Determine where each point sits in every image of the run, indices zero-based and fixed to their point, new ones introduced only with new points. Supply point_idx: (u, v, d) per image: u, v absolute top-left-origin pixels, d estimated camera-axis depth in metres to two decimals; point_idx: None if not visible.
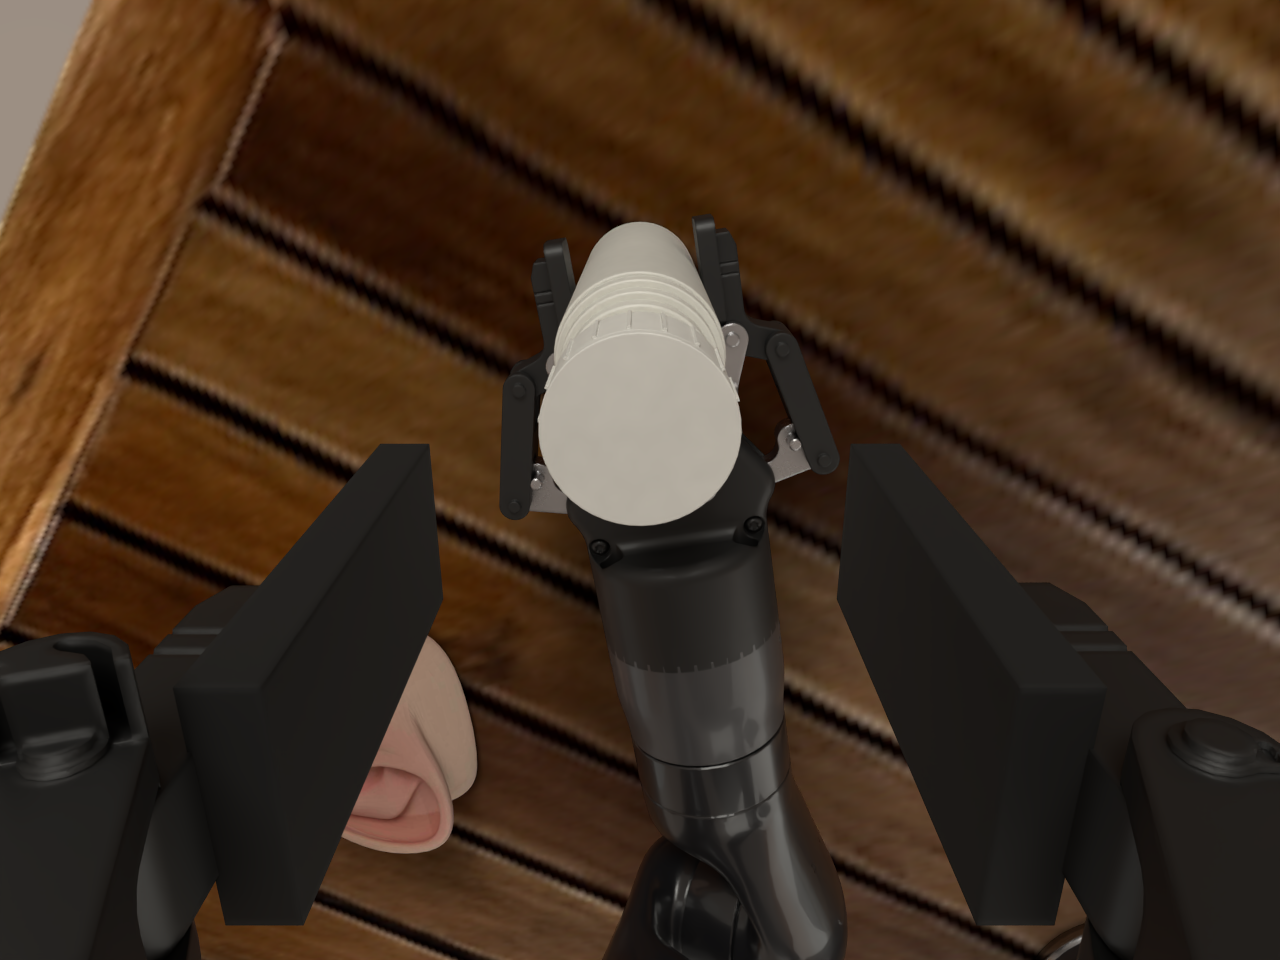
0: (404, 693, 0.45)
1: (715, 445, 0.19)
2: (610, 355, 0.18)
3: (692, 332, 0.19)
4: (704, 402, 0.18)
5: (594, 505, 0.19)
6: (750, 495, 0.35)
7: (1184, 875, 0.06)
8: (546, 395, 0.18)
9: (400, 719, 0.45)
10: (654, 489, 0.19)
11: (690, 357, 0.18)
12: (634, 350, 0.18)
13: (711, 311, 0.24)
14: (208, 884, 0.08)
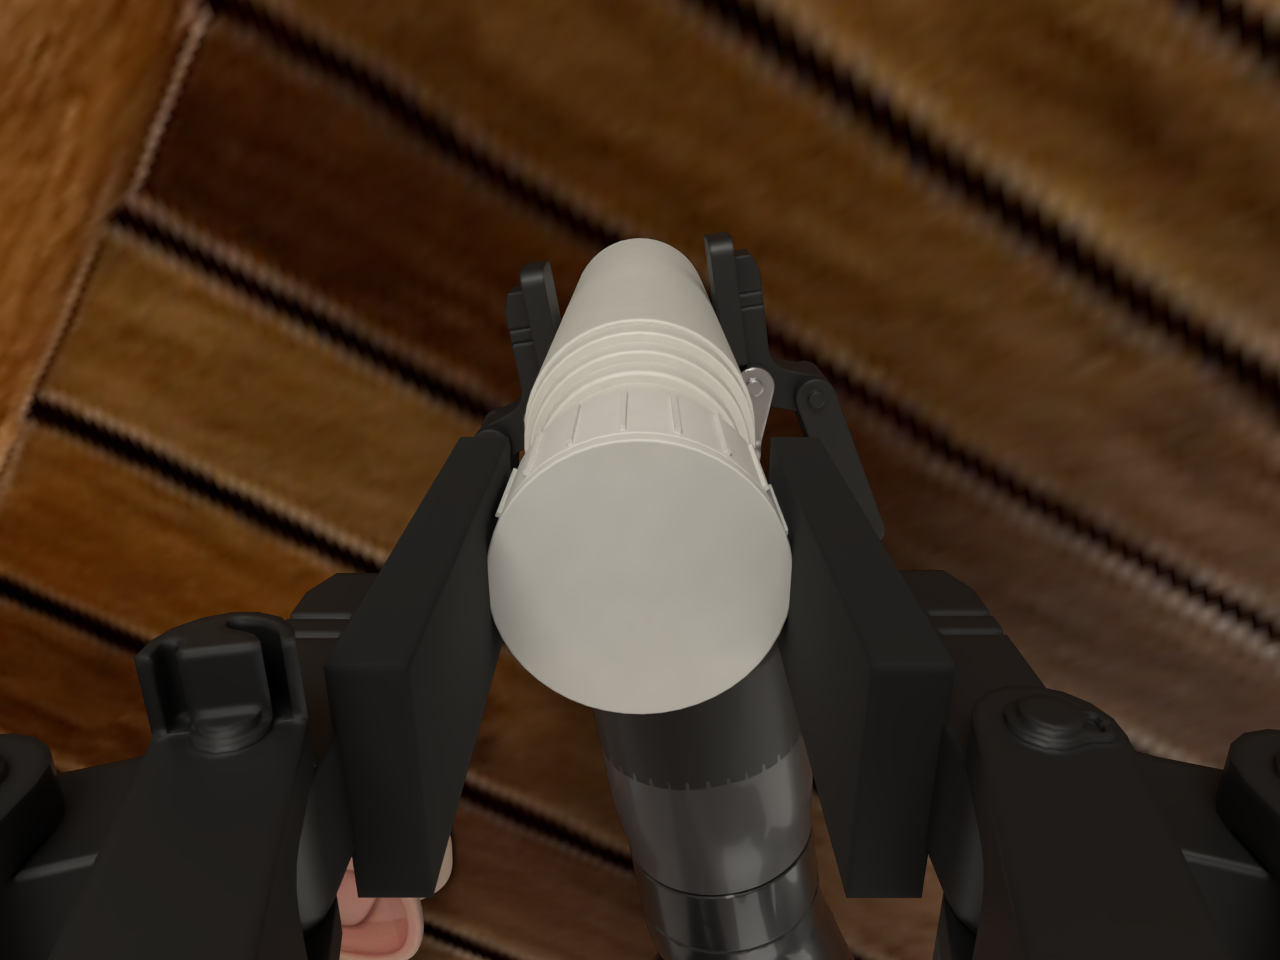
0: None
1: (753, 602, 0.12)
2: (594, 473, 0.12)
3: (717, 426, 0.13)
4: (738, 541, 0.12)
5: (571, 686, 0.13)
6: None
7: (1015, 849, 0.06)
8: (496, 531, 0.12)
9: None
10: (661, 664, 0.13)
11: (717, 476, 0.12)
12: (631, 465, 0.12)
13: (736, 371, 0.18)
14: (348, 857, 0.08)
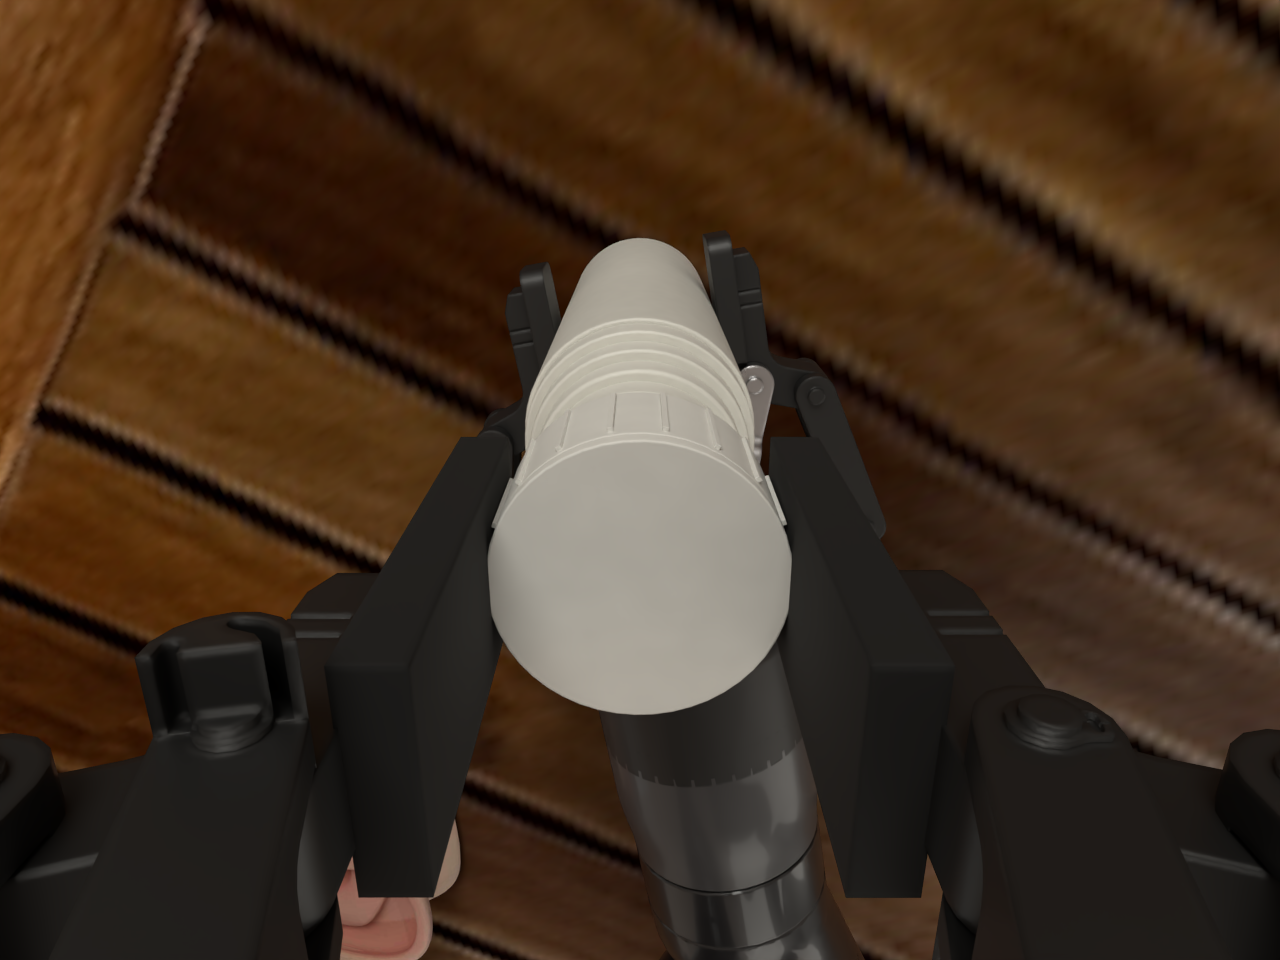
0: None
1: (588, 488, 0.12)
2: (567, 675, 0.13)
3: None
4: (542, 539, 0.12)
5: (777, 580, 0.12)
6: None
7: (1015, 849, 0.06)
8: (668, 709, 0.13)
9: None
10: (704, 522, 0.12)
11: (501, 590, 0.12)
12: (541, 654, 0.13)
13: (734, 369, 0.18)
14: (348, 856, 0.08)
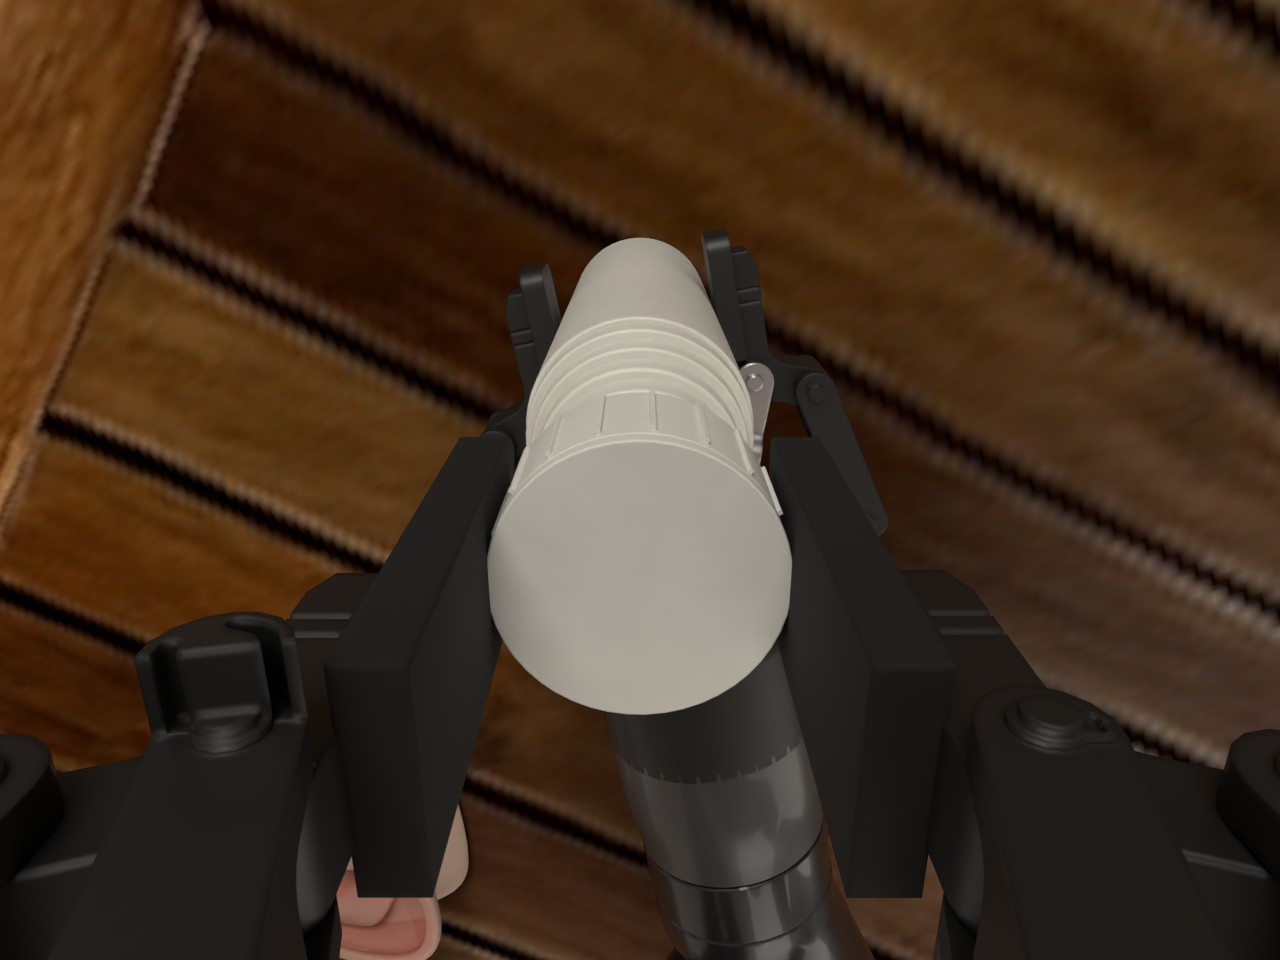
0: None
1: (582, 672, 0.13)
2: (767, 589, 0.12)
3: None
4: (649, 678, 0.13)
5: (551, 486, 0.12)
6: None
7: (1016, 849, 0.06)
8: (749, 484, 0.12)
9: None
10: (545, 575, 0.12)
11: (718, 681, 0.13)
12: (759, 620, 0.12)
13: (733, 366, 0.18)
14: (348, 856, 0.08)
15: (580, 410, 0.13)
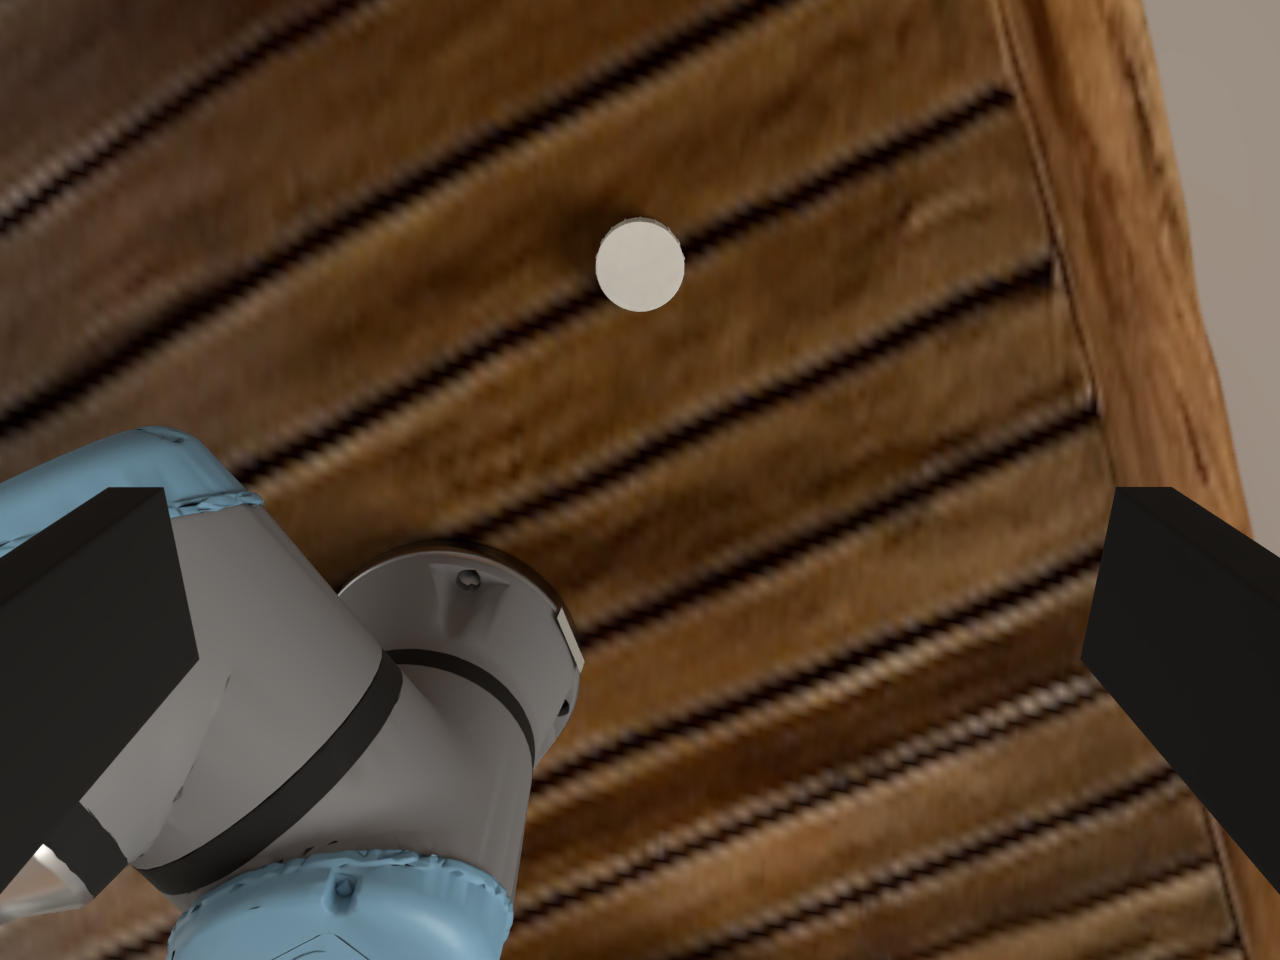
0: None
1: (673, 265, 0.42)
2: (619, 235, 0.42)
3: (654, 220, 0.43)
4: (663, 246, 0.42)
5: (628, 305, 0.43)
6: None
7: None
8: (596, 259, 0.42)
9: None
10: (652, 291, 0.43)
11: (653, 228, 0.42)
12: (629, 231, 0.42)
13: None
14: None
15: None
